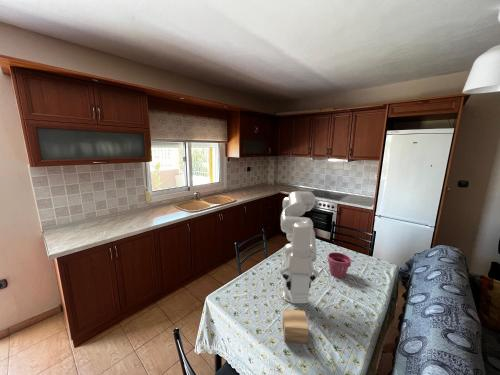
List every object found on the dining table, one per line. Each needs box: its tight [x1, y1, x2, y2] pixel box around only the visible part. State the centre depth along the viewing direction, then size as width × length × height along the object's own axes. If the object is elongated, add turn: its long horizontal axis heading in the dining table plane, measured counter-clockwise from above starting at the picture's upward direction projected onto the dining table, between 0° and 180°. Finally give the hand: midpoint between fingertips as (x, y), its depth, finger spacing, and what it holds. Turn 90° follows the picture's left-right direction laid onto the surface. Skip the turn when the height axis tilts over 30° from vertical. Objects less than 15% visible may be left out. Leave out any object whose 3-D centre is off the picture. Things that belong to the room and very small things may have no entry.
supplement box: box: [288, 275, 310, 304], centre depth 91 cm, size 7×7×13 cm
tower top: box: [282, 308, 310, 338], centre depth 94 cm, size 10×10×4 cm
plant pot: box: [327, 251, 352, 279], centre depth 139 cm, size 14×14×13 cm
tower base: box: [282, 320, 309, 345], centre depth 95 cm, size 10×10×4 cm
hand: (298, 288), depth 91 cm, fingers closed on supplement box, 7 cm apart
